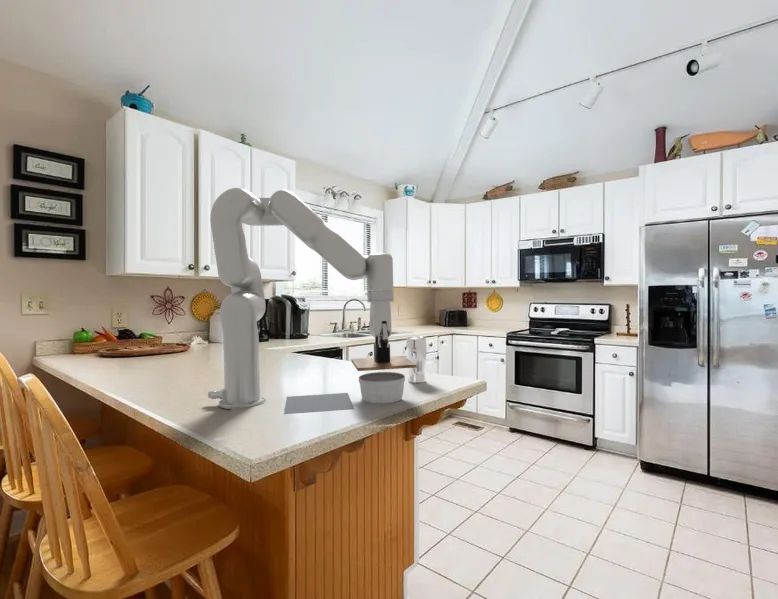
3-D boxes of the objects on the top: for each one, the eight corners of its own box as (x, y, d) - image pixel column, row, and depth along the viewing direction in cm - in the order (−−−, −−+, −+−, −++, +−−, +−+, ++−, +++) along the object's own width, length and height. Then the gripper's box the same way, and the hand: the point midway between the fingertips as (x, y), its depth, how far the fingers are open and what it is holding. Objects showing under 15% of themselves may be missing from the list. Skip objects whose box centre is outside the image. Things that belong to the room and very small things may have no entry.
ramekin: (367, 408, 112) (366, 382, 112) (353, 397, 125) (353, 374, 124) (412, 403, 117) (412, 378, 117) (394, 392, 129) (394, 370, 129)
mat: (283, 415, 107) (283, 413, 107) (286, 398, 124) (286, 396, 124) (354, 410, 110) (354, 408, 110) (347, 394, 128) (347, 392, 128)
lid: (358, 371, 111) (357, 349, 111) (351, 361, 127) (350, 342, 127) (416, 367, 114) (416, 346, 114) (402, 358, 130) (402, 339, 130)
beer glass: (427, 383, 141) (427, 338, 141) (406, 383, 141) (406, 339, 141) (426, 379, 148) (425, 336, 148) (406, 379, 148) (405, 336, 148)
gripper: (363, 296, 128) (364, 357, 128) (372, 297, 111) (373, 366, 112) (387, 296, 129) (389, 355, 130) (399, 296, 113) (401, 364, 113)
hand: (382, 360), depth 121 cm, fingers closed on lid, 4 cm apart
